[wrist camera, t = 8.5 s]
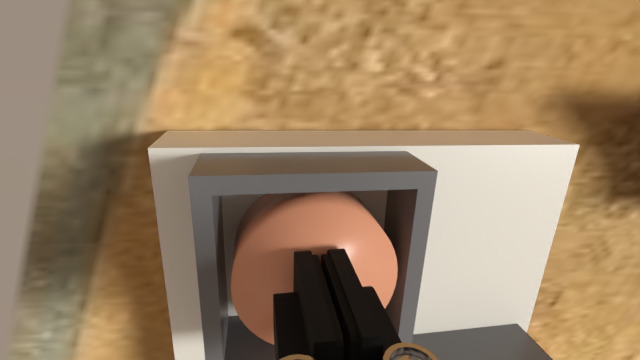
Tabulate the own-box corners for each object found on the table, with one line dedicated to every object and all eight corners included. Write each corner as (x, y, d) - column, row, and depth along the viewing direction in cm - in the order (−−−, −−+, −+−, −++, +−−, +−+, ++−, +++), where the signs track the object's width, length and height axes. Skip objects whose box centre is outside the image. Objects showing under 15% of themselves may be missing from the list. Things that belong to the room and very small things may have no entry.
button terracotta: (231, 181, 13) (226, 209, 10) (381, 178, 14) (406, 202, 11) (237, 311, 14) (234, 358, 12) (369, 300, 15) (389, 341, 13)
